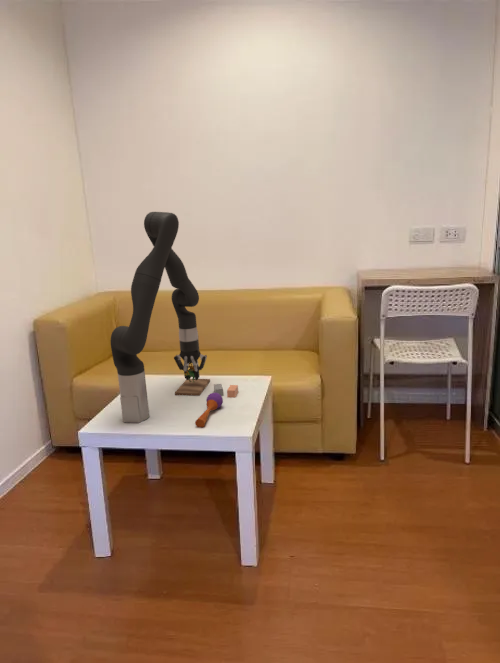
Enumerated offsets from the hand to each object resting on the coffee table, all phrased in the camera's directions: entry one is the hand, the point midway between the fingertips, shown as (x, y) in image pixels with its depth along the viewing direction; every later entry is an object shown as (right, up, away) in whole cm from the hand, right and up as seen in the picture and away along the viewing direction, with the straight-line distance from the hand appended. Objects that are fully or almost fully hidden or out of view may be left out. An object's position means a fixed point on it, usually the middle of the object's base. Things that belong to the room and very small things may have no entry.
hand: (192, 379), depth 210 cm
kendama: (+9, -11, -27) cm, 30 cm away
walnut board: (0, -4, +1) cm, 4 cm away
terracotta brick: (+17, -5, -8) cm, 19 cm away
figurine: (0, -1, 0) cm, 1 cm away
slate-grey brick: (+11, -5, -6) cm, 14 cm away
